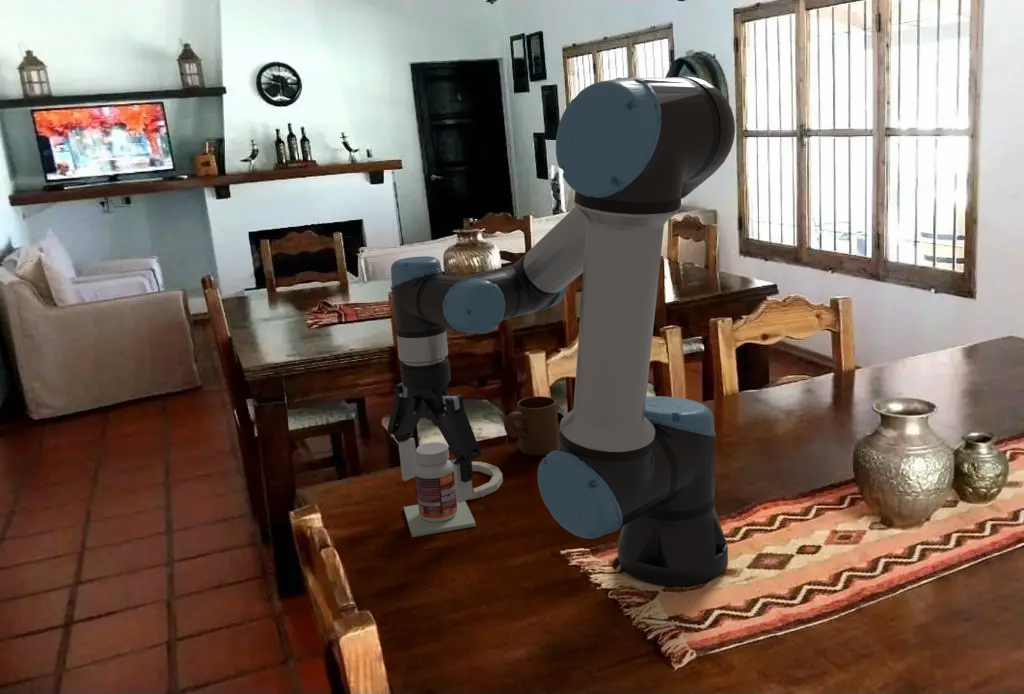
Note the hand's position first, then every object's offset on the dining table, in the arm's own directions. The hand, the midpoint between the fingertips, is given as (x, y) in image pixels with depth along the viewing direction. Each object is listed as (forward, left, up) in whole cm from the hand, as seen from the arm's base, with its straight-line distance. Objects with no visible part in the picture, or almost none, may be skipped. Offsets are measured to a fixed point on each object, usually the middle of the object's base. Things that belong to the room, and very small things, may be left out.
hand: (436, 488), depth 137 cm
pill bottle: (0, 0, -5) cm, 5 cm away
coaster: (0, 0, -5) cm, 5 cm away
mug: (+21, -21, -5) cm, 30 cm away
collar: (+12, -6, -5) cm, 14 cm away
